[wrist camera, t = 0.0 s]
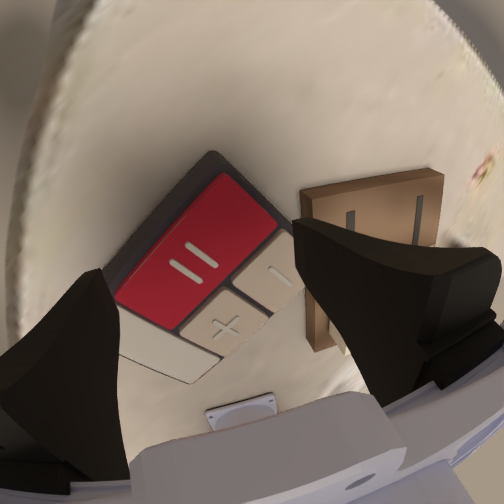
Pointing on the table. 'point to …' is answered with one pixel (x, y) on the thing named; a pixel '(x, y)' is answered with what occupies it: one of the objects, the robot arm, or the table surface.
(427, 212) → the mixer panel
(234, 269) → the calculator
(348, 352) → the ivory fader
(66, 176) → the table surface
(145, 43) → the table surface
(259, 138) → the table surface
